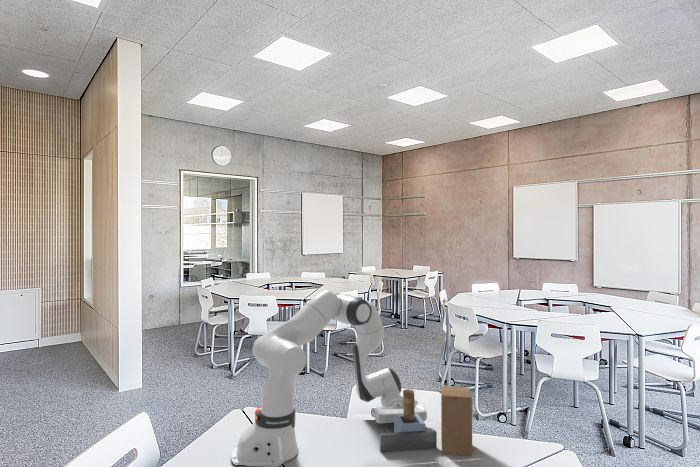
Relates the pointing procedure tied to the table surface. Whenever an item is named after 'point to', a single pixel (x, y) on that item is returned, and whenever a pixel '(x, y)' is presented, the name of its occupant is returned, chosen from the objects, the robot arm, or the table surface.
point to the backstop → (407, 440)
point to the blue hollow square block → (408, 424)
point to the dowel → (408, 406)
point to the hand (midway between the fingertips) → (405, 423)
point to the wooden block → (456, 420)
